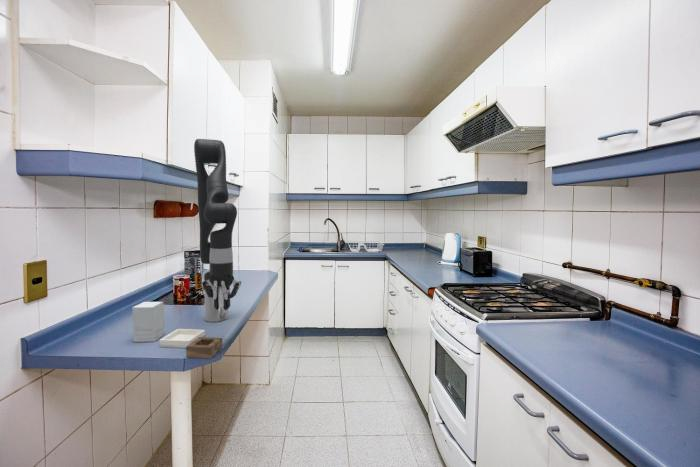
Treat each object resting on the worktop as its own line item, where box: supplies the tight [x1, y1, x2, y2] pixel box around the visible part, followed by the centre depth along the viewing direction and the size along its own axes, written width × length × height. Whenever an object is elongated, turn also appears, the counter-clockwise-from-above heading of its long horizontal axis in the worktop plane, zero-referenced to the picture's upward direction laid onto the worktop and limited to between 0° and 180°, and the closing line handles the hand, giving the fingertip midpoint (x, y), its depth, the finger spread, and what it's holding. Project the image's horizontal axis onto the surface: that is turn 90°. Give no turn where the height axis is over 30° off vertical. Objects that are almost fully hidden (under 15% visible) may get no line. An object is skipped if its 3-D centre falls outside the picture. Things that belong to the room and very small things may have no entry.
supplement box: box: [131, 301, 165, 343], centre depth 118 cm, size 7×7×13 cm
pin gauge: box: [218, 286, 227, 321], centre depth 114 cm, size 3×3×12 cm
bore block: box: [185, 336, 223, 359], centre depth 107 cm, size 8×8×4 cm
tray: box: [158, 328, 206, 349], centre depth 115 cm, size 11×11×2 cm
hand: (222, 308), depth 114 cm, fingers closed on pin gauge, 2 cm apart
